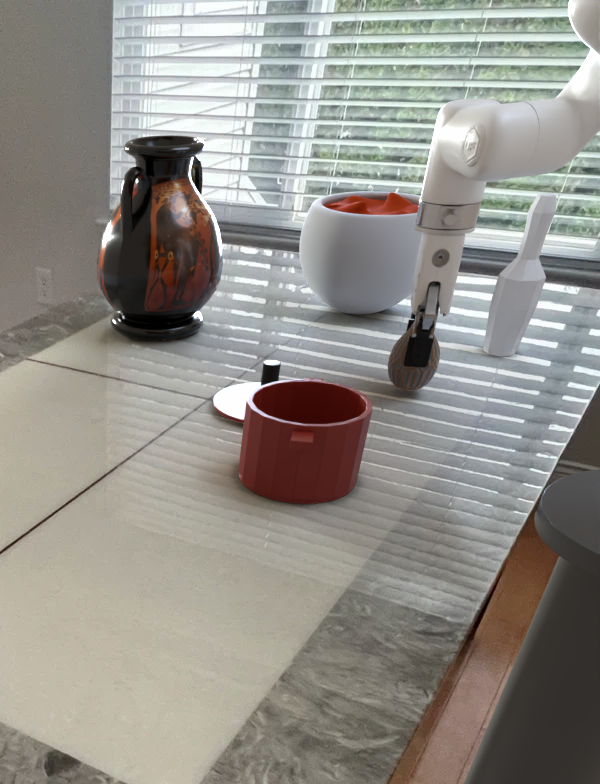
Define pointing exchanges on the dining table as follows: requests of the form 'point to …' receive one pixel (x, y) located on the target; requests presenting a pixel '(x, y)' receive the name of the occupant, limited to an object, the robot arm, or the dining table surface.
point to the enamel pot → (303, 440)
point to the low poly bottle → (520, 283)
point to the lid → (243, 393)
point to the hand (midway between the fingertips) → (414, 356)
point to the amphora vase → (160, 243)
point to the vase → (411, 375)
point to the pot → (361, 249)
